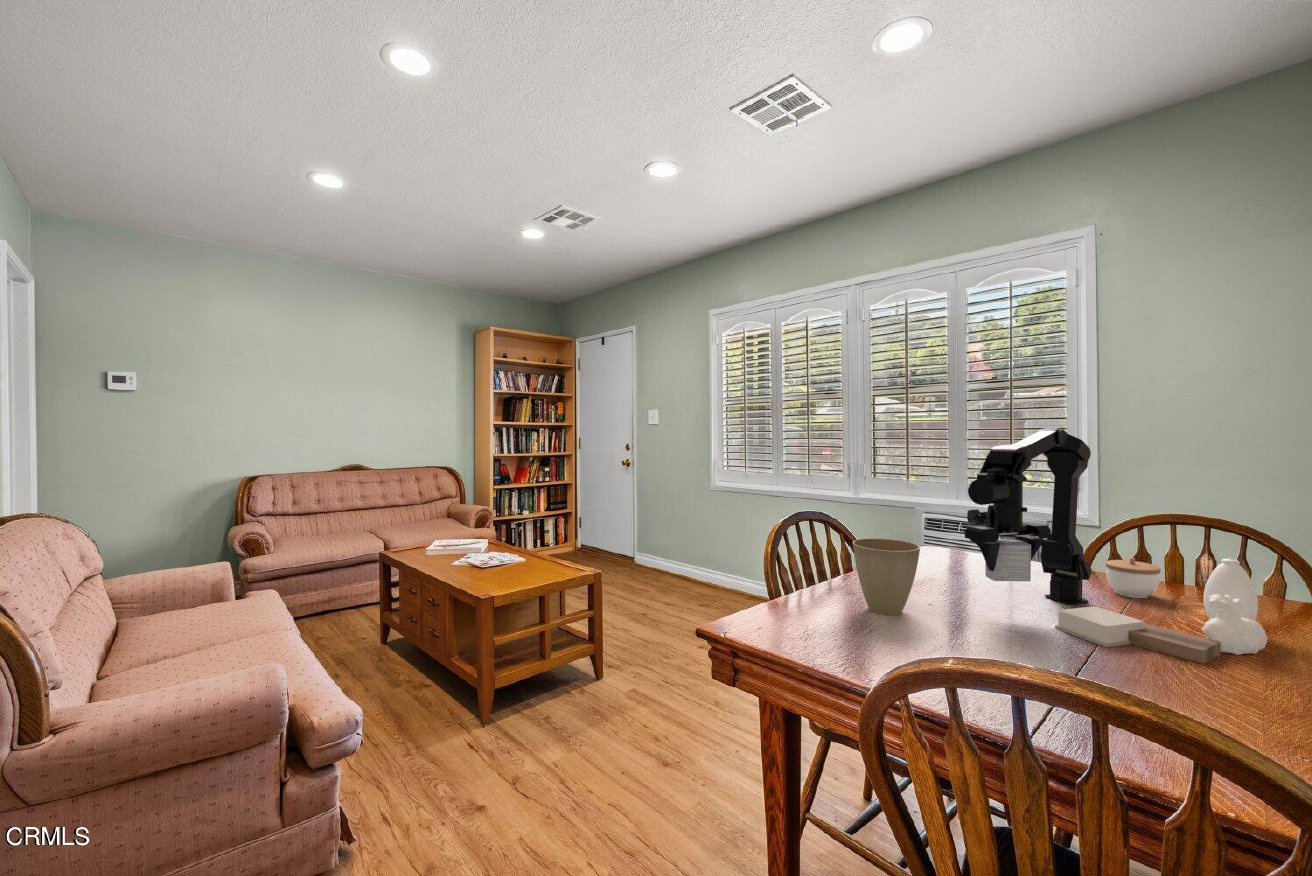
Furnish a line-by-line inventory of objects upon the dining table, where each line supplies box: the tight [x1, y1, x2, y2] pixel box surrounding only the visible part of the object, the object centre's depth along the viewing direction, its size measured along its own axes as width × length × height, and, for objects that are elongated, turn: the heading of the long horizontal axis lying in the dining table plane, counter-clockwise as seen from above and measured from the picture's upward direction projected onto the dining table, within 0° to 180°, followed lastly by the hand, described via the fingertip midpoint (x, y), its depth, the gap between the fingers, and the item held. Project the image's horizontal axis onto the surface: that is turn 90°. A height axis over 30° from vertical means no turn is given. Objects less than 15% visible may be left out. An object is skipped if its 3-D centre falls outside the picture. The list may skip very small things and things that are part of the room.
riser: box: [1054, 605, 1145, 648], centre depth 116 cm, size 11×11×4 cm
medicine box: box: [984, 539, 1032, 582], centre depth 127 cm, size 8×4×9 cm, turn 85°
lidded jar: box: [1105, 557, 1161, 599], centre depth 143 cm, size 11×11×9 cm
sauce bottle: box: [1202, 547, 1259, 621], centre depth 116 cm, size 8×8×18 cm
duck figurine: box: [1201, 594, 1268, 656], centre depth 109 cm, size 12×8×11 cm
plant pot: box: [852, 537, 921, 616], centre depth 133 cm, size 15×15×16 cm
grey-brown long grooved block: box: [1128, 622, 1222, 665], centre depth 109 cm, size 8×12×2 cm, turn 29°
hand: (1007, 569), depth 127 cm, fingers closed on medicine box, 9 cm apart
